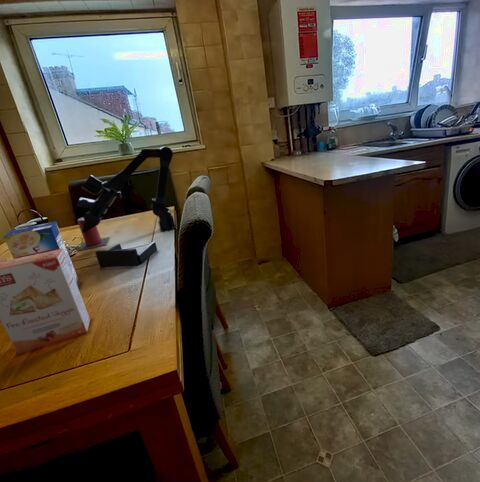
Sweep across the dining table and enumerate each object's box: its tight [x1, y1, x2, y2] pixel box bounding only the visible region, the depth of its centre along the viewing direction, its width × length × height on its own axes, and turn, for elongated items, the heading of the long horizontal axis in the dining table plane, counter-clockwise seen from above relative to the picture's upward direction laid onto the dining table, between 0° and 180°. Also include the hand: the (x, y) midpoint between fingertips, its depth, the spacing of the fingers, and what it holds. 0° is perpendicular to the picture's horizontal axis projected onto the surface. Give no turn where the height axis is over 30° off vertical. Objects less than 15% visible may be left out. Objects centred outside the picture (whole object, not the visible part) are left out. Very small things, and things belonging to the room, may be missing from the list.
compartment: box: [94, 241, 158, 268], centre depth 105 cm, size 13×16×7 cm
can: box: [76, 216, 102, 246], centre depth 125 cm, size 6×6×12 cm
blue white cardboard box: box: [3, 220, 80, 287], centre depth 83 cm, size 7×11×22 cm, turn 116°
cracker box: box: [0, 249, 91, 355], centre depth 63 cm, size 14×6×21 cm, turn 114°
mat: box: [77, 236, 110, 252], centre depth 127 cm, size 11×11×1 cm
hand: (85, 229), depth 124 cm, fingers open, 9 cm apart
